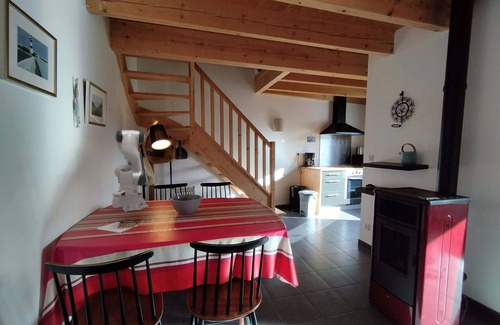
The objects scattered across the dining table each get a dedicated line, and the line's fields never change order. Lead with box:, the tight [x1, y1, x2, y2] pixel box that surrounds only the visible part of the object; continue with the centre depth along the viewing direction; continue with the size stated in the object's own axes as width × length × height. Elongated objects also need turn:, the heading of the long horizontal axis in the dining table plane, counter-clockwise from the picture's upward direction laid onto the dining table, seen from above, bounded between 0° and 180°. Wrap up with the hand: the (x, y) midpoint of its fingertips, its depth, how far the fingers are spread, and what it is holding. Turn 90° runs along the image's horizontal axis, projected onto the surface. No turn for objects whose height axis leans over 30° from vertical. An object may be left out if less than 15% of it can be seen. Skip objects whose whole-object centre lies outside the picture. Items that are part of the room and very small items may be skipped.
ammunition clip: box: [117, 219, 138, 228], centre depth 165 cm, size 11×2×12 cm
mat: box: [96, 221, 140, 234], centre depth 162 cm, size 16×20×1 cm
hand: (126, 211), depth 168 cm, fingers closed
